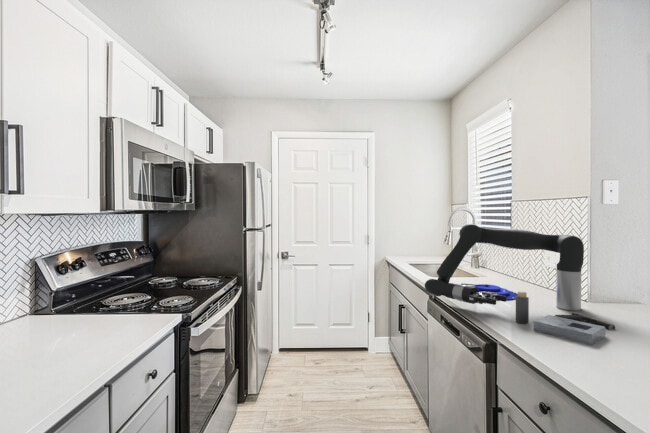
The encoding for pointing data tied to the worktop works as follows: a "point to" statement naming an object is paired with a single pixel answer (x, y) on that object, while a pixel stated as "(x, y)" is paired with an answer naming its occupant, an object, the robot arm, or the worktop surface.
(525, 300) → the plug
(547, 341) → the worktop surface
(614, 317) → the worktop surface
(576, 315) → the handgun
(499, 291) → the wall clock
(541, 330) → the housing
